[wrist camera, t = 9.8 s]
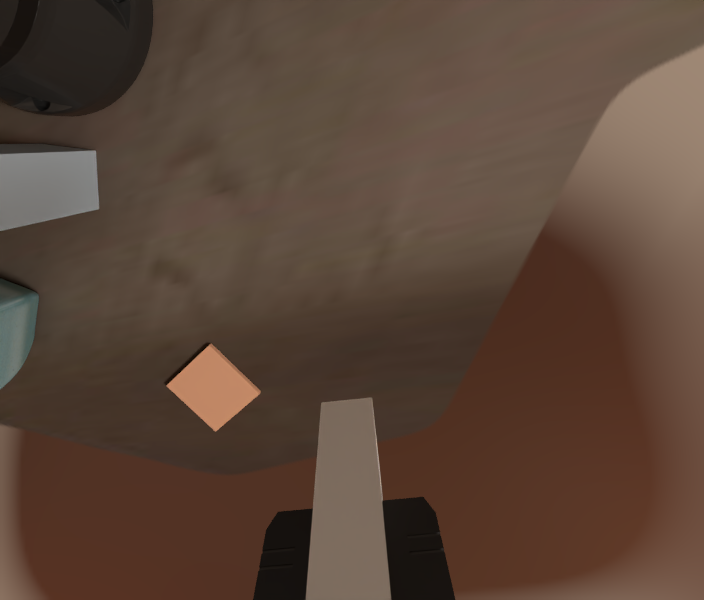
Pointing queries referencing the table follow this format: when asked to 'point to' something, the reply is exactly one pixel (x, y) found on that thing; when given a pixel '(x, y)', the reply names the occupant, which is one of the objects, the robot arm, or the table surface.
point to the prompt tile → (213, 387)
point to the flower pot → (15, 327)
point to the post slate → (45, 183)
